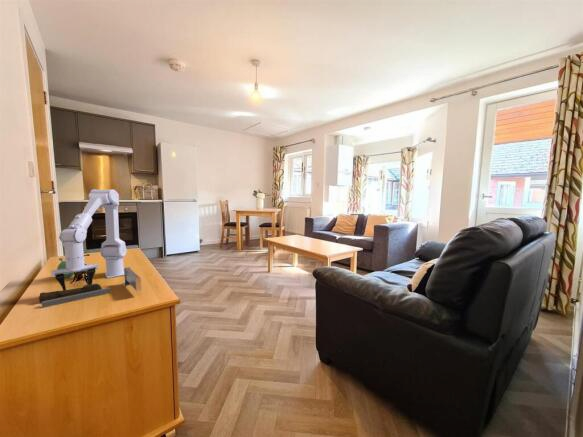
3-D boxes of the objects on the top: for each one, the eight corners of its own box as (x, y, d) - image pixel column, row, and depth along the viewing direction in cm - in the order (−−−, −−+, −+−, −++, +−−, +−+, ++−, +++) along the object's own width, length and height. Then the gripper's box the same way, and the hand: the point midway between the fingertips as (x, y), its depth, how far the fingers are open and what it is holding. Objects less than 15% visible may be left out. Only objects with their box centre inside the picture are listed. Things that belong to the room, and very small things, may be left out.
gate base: (122, 283, 112) (122, 283, 112) (132, 281, 115) (132, 281, 115) (123, 286, 109) (123, 285, 109) (134, 284, 112) (134, 283, 112)
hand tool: (38, 305, 91) (37, 293, 90) (43, 300, 94) (42, 289, 94) (100, 296, 99) (99, 285, 99) (103, 292, 103) (102, 282, 102)
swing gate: (124, 283, 112) (123, 268, 111) (130, 281, 113) (129, 267, 113) (135, 296, 97) (134, 279, 96) (142, 294, 99) (141, 277, 98)
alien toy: (80, 273, 126) (79, 255, 125) (72, 278, 118) (70, 258, 117) (63, 275, 124) (62, 256, 123) (54, 280, 116) (52, 260, 115)
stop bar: (42, 306, 89) (41, 301, 89) (109, 291, 103) (109, 287, 103) (42, 307, 88) (41, 302, 88) (110, 292, 102) (109, 288, 101)
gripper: (49, 262, 92) (52, 296, 93) (98, 256, 101) (100, 287, 103) (50, 258, 97) (53, 291, 98) (96, 253, 106) (98, 282, 108)
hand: (77, 289), depth 101 cm, fingers open, 7 cm apart
